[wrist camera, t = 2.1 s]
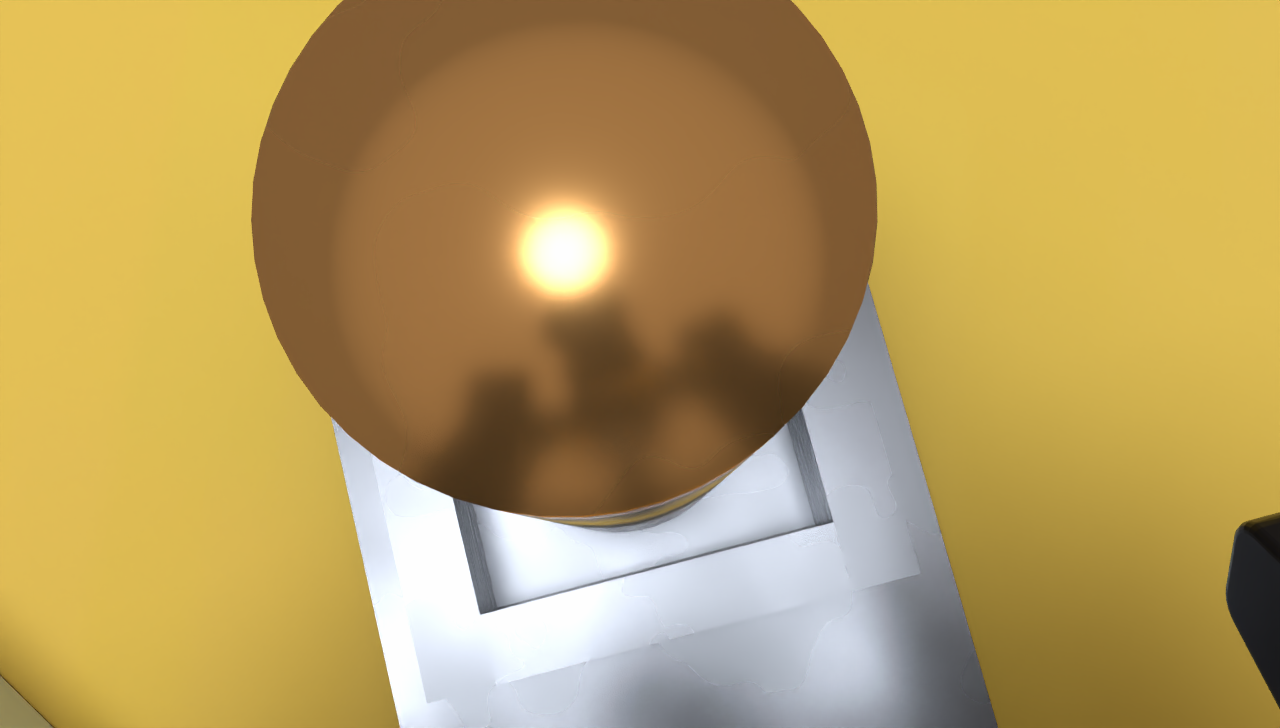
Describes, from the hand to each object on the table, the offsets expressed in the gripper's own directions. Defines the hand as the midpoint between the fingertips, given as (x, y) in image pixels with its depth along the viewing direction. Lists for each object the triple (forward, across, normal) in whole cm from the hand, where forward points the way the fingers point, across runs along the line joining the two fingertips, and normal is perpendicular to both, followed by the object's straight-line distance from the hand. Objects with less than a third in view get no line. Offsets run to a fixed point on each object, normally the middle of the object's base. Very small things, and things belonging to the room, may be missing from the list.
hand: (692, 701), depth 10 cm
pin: (+9, 0, +4) cm, 10 cm away
